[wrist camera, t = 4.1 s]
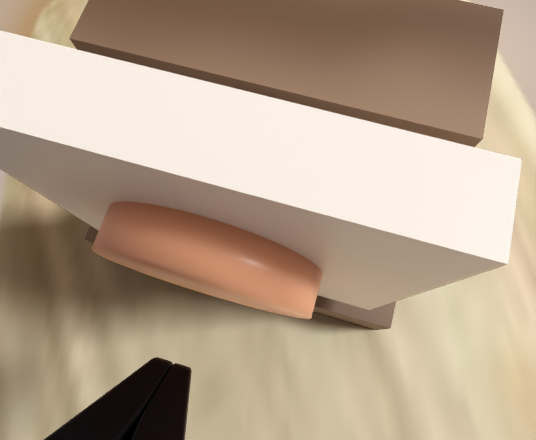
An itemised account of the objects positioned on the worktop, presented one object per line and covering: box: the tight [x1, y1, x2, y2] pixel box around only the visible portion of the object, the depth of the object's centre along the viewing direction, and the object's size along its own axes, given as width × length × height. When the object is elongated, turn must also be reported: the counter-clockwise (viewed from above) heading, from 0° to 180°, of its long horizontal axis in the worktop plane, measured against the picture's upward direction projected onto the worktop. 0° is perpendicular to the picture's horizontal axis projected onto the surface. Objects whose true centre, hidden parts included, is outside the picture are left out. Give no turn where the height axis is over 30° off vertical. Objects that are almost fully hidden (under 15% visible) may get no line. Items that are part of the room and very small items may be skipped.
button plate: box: [0, 31, 522, 319], centre depth 10 cm, size 2×9×8 cm, turn 74°
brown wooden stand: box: [70, 0, 503, 330], centre depth 14 cm, size 8×11×7 cm
